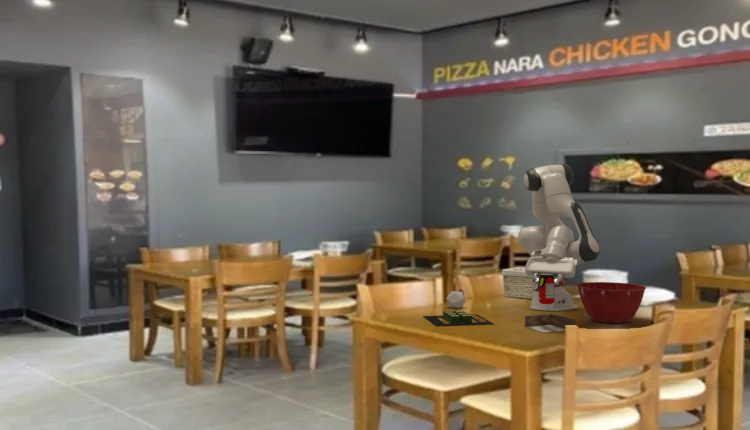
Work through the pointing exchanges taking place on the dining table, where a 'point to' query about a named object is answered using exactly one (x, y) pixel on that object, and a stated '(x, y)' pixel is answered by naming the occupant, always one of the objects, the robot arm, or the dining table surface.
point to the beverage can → (546, 289)
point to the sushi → (457, 319)
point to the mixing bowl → (611, 300)
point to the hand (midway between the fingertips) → (546, 283)
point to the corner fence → (548, 322)
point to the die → (456, 299)
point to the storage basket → (517, 283)
